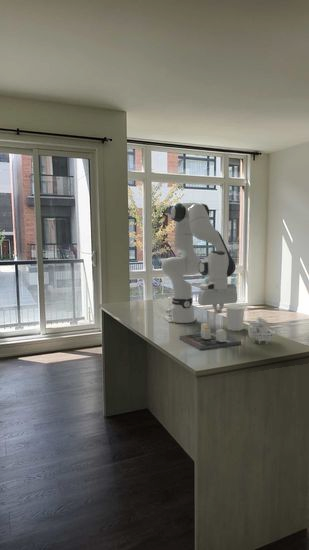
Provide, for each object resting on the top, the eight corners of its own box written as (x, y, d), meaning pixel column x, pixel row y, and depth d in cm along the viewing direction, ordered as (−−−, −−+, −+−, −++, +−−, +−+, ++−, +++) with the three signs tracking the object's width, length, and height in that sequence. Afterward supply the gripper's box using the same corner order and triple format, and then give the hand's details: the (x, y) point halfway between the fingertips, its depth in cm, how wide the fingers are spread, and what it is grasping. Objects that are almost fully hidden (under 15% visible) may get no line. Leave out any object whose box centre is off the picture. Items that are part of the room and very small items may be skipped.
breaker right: (216, 340, 166) (216, 329, 165) (221, 339, 167) (221, 328, 166) (220, 342, 162) (220, 331, 161) (226, 341, 163) (226, 330, 163)
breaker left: (200, 333, 178) (200, 323, 178) (206, 332, 180) (206, 322, 179) (205, 334, 175) (205, 325, 174) (210, 334, 176) (210, 324, 175)
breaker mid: (201, 337, 170) (201, 326, 170) (206, 336, 172) (206, 326, 171) (205, 339, 167) (205, 328, 166) (210, 338, 168) (210, 328, 167)
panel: (179, 338, 175) (179, 335, 175) (217, 334, 184) (217, 331, 183) (199, 350, 157) (199, 346, 157) (241, 344, 165) (241, 340, 165)
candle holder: (230, 331, 189) (230, 309, 188) (223, 327, 199) (223, 306, 198) (247, 330, 191) (247, 308, 190) (239, 326, 200) (239, 305, 199)
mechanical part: (272, 347, 161) (272, 321, 160) (245, 343, 166) (246, 318, 165) (276, 341, 170) (277, 316, 169) (251, 337, 176) (252, 314, 175)
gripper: (232, 283, 176) (232, 310, 177) (196, 285, 168) (196, 313, 169) (240, 284, 170) (239, 312, 171) (203, 286, 163) (203, 316, 164)
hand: (218, 313), depth 170 cm, fingers closed
